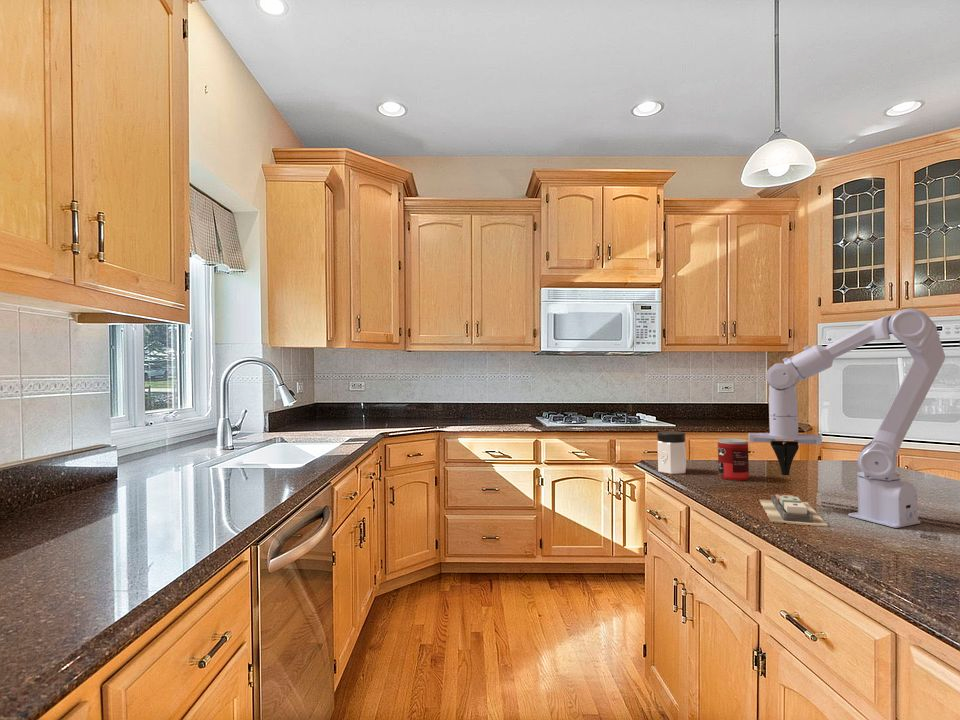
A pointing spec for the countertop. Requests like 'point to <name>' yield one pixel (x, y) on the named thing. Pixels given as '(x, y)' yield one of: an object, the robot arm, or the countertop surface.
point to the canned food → (733, 459)
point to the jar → (671, 452)
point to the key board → (791, 514)
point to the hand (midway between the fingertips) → (785, 474)
